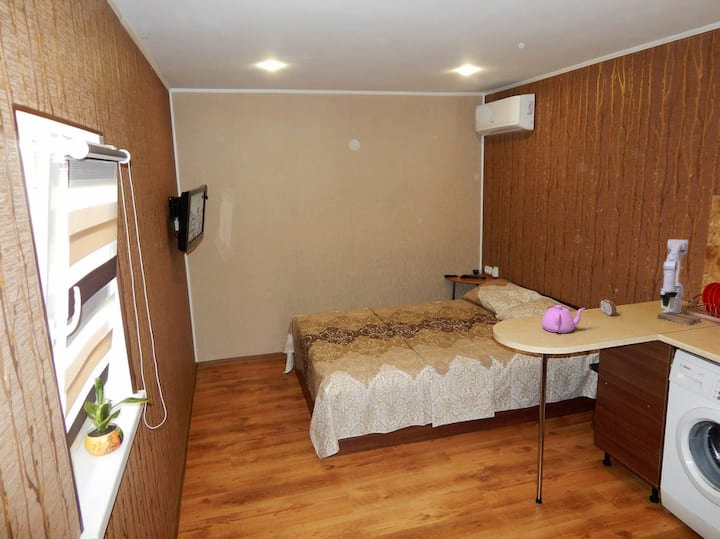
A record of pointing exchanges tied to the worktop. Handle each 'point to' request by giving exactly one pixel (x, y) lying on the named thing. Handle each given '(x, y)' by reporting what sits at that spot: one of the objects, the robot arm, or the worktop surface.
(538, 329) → the worktop surface
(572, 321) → the teapot
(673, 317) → the walnut slab
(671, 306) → the sage block
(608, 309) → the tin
